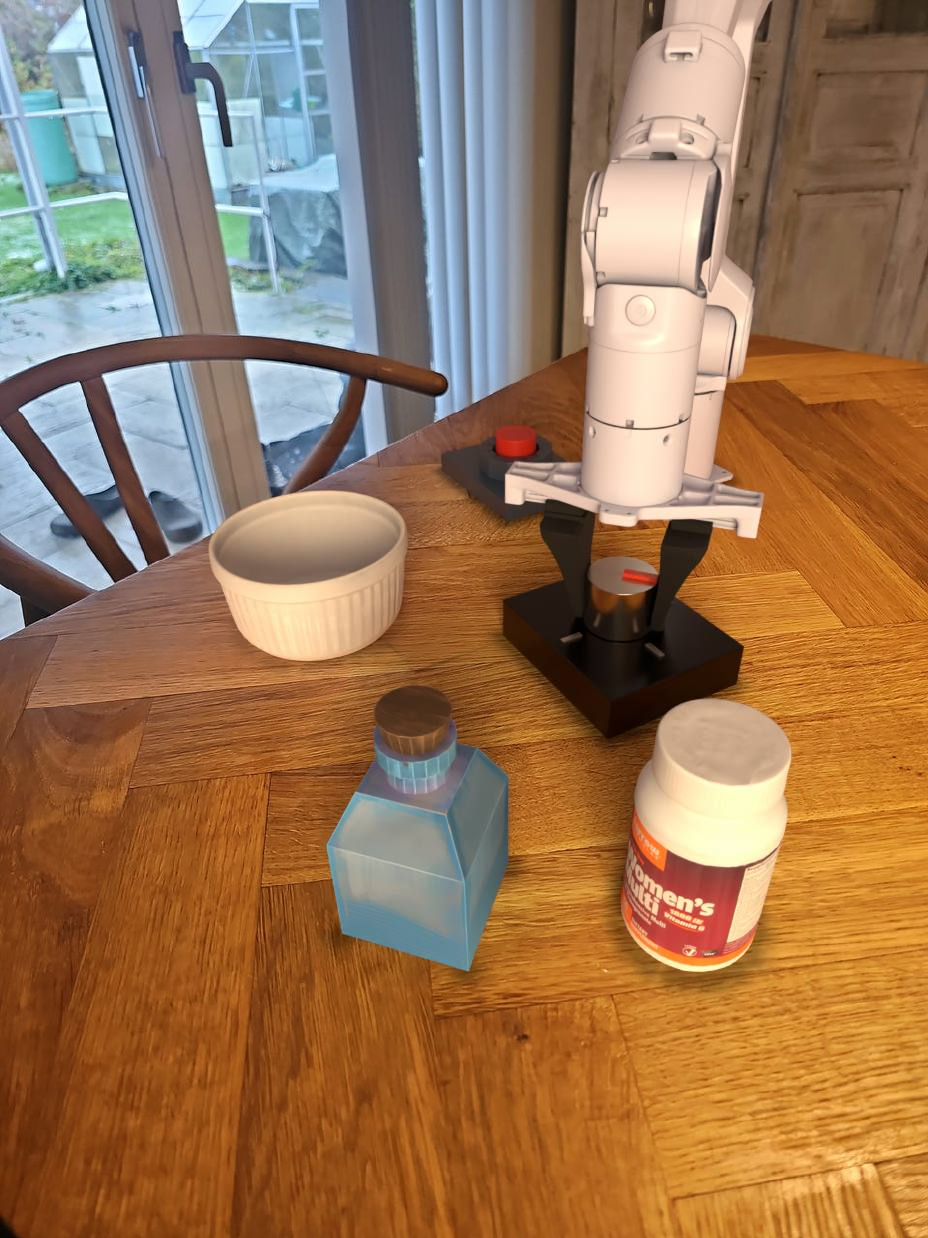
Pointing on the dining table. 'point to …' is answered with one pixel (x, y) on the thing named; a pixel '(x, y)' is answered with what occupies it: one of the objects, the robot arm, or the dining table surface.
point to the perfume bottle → (422, 835)
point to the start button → (515, 441)
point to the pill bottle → (705, 833)
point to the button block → (494, 474)
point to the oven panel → (621, 659)
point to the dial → (620, 598)
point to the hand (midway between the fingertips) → (618, 614)
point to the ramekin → (312, 572)
